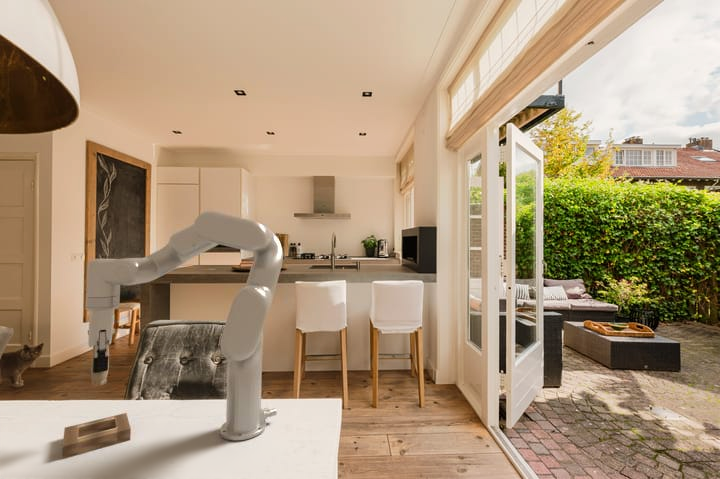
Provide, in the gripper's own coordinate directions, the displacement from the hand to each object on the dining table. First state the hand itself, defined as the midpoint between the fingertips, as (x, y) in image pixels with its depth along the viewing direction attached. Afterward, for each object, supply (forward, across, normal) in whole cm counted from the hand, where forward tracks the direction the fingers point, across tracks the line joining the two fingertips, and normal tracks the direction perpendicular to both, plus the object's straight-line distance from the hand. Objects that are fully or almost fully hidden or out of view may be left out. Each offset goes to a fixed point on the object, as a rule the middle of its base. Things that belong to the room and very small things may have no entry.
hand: (100, 368), depth 93 cm
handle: (+4, 0, 0) cm, 4 cm away
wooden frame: (+19, 0, 0) cm, 19 cm away
